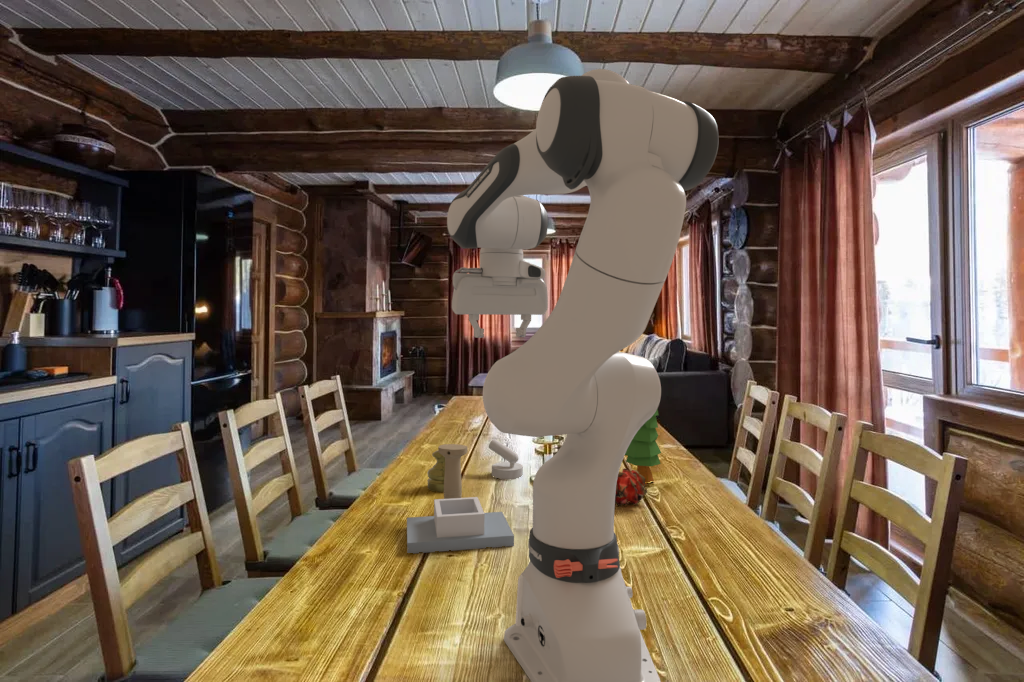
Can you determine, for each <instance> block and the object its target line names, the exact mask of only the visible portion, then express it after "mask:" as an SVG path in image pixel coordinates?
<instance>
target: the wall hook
mask: <svg viewBox="0 0 1024 682" xmlns="http://www.w3.org/2000/svg"><path fill="white" fill-rule="evenodd" d="M488 448H489V449H490V450H491V451H493V452H494V453H496V454H497V455H498V456H500V457H501V458H503V459H504V460H506V461H502V462H501V461H500V462H496V463H494V464H492V465H491V476H492V477H493V476H494V477H496V478H495V479H497V478H500V479H499V480H504V479H511V480H517V479H516V478H518V479H520V478H519V477H521V476H522V475H523V476H524V469H523V468H524V466H523V464H521V463H519V462H518V461H519V454H517V453H516V452H515V451H513V450H512V449H511V448H509V447H508V446H506V445H505V444H503V443H502V442H500V441H499V440H497V439H496V438H493V439H492V440H491V441H490V442H489V444H488ZM523 476H522V477H523ZM494 477H493V478H494ZM522 477H521V478H522Z"/></svg>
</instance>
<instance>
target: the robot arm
mask: <svg viewBox="0 0 1024 682" xmlns="http://www.w3.org/2000/svg"><path fill="white" fill-rule="evenodd" d="M719 138H720V137H719V129H718V124H717V122H716V119H715V118H714V117H713V115H712V114H711V113H710V112H708V111H707V110H706V109H704V108H702V107H701V106H699V105H698V104H695V103H692V102H691V101H686V100H684V101H683V100H682V101H680V100H679V99H676V98H673V97H671V96H668V95H664V94H661V93H658V92H655V91H653V90H652V91H651V90H648V89H647V88H645V87H643V86H641V85H635V84H630V83H629V81H628V80H627V79H625V77H624V76H622V75H621V74H619V73H617V72H616V71H613V70H610V69H606V68H605V69H604V68H596V69H591V70H589V71H586V72H584V73H583V74H582V75H568V76H562V77H560V78H558V79H557V80H556V81H555V82H554V83H553V84H552V85H551V86H550V87H549V88H548V90H547V91H546V93H545V95H544V97H543V100H542V103H541V104H540V108H539V110H538V113H537V118H536V126H535V128H534V130H533V131H531V132H530V133H529V134H526V136H524V137H523V138H521V139H519V140H517V141H516V142H514V143H511V144H509V145H507V146H505V147H503V148H502V149H501V150H499V151H498V152H497V153H496V154H495V155H494V156H493V158H491V160H490V161H489V162H488V163H487V164H486V166H485V167H484V168H483V169H482V170H481V172H479V174H478V175H477V176H476V177H475V179H474V180H473V181H472V182H471V183H470V185H469V186H468V187H467V188H466V189H464V190H463V191H461V192H460V193H458V194H457V195H456V196H455V197H454V198H453V200H452V201H451V202H450V205H449V207H448V211H447V218H446V228H447V233H448V235H449V236H450V238H451V240H453V241H454V242H455V243H456V244H457V245H458V246H459V247H461V249H465V250H466V249H478V248H479V249H480V251H479V267H463V266H462V267H459V269H457V270H455V271H454V273H453V275H452V287H453V293H452V299H451V310H452V312H453V313H454V314H455V315H468V321H469V323H470V325H471V326H472V329H473V337H474V338H477V339H478V338H479V339H480V338H481V339H482V338H484V336H485V328H482V327H480V325H479V323H478V321H480V315H486V316H488V315H491V316H492V315H495V316H496V315H502V316H503V315H504V316H505V315H506V316H507V315H515V316H516V315H517V316H519V315H520V320H521V321H522V322H521V324H520V326H519V327H516V328H515V337H516V338H525V337H526V336H527V328H528V327H529V325H530V323H531V322H532V316H533V315H534V316H535V315H537V316H541V315H542V316H543V315H545V314H546V312H547V311H548V308H549V307H548V306H549V305H548V304H549V303H548V302H549V301H548V299H549V298H548V287H547V284H546V283H545V281H544V280H543V279H544V278H545V277H546V270H545V269H544V268H543V267H541V266H538V265H535V264H533V263H531V262H529V261H527V260H524V251H523V250H530V249H536V248H537V247H538V246H539V245H541V244H542V243H543V241H544V240H545V239H546V238H547V234H548V226H549V223H548V222H549V221H548V218H549V217H548V216H549V215H548V213H547V210H546V209H545V207H544V205H543V204H542V202H541V201H539V200H538V199H535V198H532V197H529V196H526V195H565V194H569V193H574V192H577V191H579V190H580V189H583V188H584V187H586V186H587V189H588V192H589V198H590V202H589V203H590V204H589V209H588V212H587V213H588V214H587V216H586V219H585V222H584V225H583V227H582V230H581V232H580V236H579V239H578V242H577V245H576V247H575V251H574V254H573V257H572V260H571V264H570V267H569V268H568V269H569V270H568V272H567V273H568V274H566V278H565V281H564V284H563V287H562V289H561V292H560V295H559V297H558V300H557V302H556V303H555V306H554V307H553V309H552V311H551V313H550V314H549V316H548V317H547V318H546V320H545V321H544V322H543V324H542V325H541V326H540V327H539V328H538V329H537V330H536V331H535V333H534V334H533V335H532V336H531V337H529V339H528V340H527V341H526V342H524V343H523V344H522V345H520V347H518V348H517V349H516V350H514V351H512V352H511V353H509V354H508V355H506V356H504V357H502V358H500V359H497V360H496V362H494V364H493V365H492V366H491V367H490V369H489V370H488V372H487V375H486V377H485V378H484V383H483V386H482V402H483V407H484V411H485V413H486V416H487V417H488V419H489V421H490V422H491V423H492V425H493V426H494V427H495V428H496V429H497V430H498V431H499V432H501V433H503V434H509V435H515V436H522V437H523V436H524V437H533V438H539V437H549V436H561V435H566V436H565V439H564V441H563V443H562V445H561V446H560V448H559V450H558V451H557V452H556V453H555V454H554V455H553V456H552V457H550V458H549V459H548V460H547V461H545V462H544V463H543V464H542V465H541V466H540V467H539V468H538V469H537V471H536V473H535V475H534V478H533V481H532V528H531V529H530V530H529V539H528V546H527V547H528V558H529V561H528V565H527V566H526V567H525V569H524V570H523V571H522V572H521V573H520V575H519V576H518V578H517V579H518V580H517V591H516V592H517V593H516V595H517V596H516V607H515V608H516V609H515V610H516V612H515V623H514V624H512V625H510V626H509V627H508V628H506V629H505V630H504V633H503V634H504V636H503V641H504V643H505V644H506V646H507V647H508V649H509V650H510V652H511V653H512V654H513V656H514V658H515V659H516V661H517V662H518V664H519V665H520V667H521V668H522V670H523V672H524V673H525V674H526V676H527V677H528V678H529V680H530V682H661V678H660V676H659V674H658V671H657V669H656V666H655V664H654V661H653V659H652V657H651V654H650V652H649V649H648V647H647V645H646V642H645V640H644V637H643V635H642V633H641V632H642V631H641V630H646V629H647V615H646V612H645V610H644V609H641V608H640V609H633V604H632V600H631V599H632V598H633V595H634V593H633V589H632V586H626V583H625V580H624V577H623V573H622V568H621V562H620V556H619V555H620V549H619V544H618V540H617V539H618V537H617V534H616V532H615V531H614V529H615V508H616V505H615V504H616V501H615V494H616V483H617V477H618V473H619V472H620V469H621V466H622V463H623V460H624V457H625V456H626V455H625V453H626V451H627V449H628V447H629V445H630V443H631V441H632V439H633V437H634V436H635V434H636V433H637V431H638V430H639V429H640V428H641V426H642V425H643V424H644V423H645V422H646V421H647V420H649V419H650V418H651V417H652V416H653V415H654V413H655V412H656V410H657V409H659V406H660V402H661V397H662V386H661V379H660V377H659V374H658V372H657V370H656V368H655V366H654V365H653V363H651V362H650V360H648V359H647V358H646V357H643V356H641V355H637V354H636V355H635V354H632V353H628V352H623V351H622V350H624V349H626V348H628V347H629V346H631V345H632V344H633V343H634V342H636V341H637V340H638V339H639V338H640V337H641V336H642V335H643V333H644V332H645V331H646V328H647V327H648V324H649V321H650V318H651V316H652V314H653V311H654V308H655V306H656V303H657V302H658V298H659V297H660V294H661V292H662V289H663V287H664V284H665V282H666V280H667V277H668V274H669V272H670V268H671V266H672V263H673V260H674V259H675V258H674V257H675V254H676V251H677V248H678V244H679V241H680V237H681V233H682V229H683V224H684V219H685V213H686V209H687V195H686V191H691V190H692V189H694V188H696V187H697V186H699V185H700V184H701V182H702V181H703V180H704V179H705V178H706V177H707V175H708V174H709V172H710V170H712V167H713V165H714V163H715V160H716V158H717V154H718V150H719Z"/></svg>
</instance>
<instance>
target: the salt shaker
mask: <svg viewBox="0 0 1024 682" xmlns="http://www.w3.org/2000/svg"><path fill="white" fill-rule="evenodd" d="M431 456H432V457H433V458H434V459H435V460H436V463H435V464H434V465H433V466H432V467H430V468H429V469H428V471H427V477H428V479H427V489H428V490H429V491H432V492H434V491H437V492H436V493H444V477H445V457H444V456H443V455H441V454H440V453H439V452H438V449H437V450H435V451H434V452H432V455H431Z"/></svg>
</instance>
